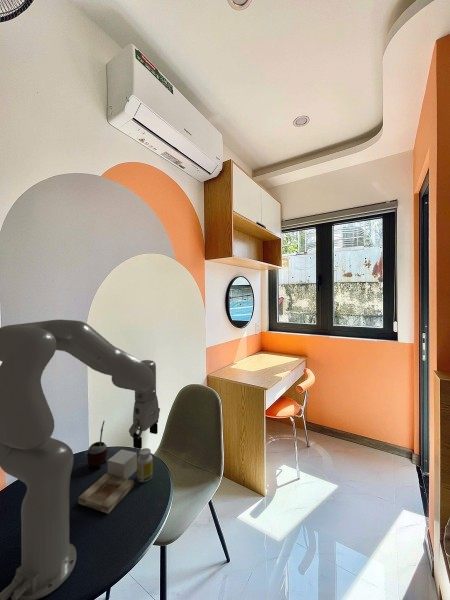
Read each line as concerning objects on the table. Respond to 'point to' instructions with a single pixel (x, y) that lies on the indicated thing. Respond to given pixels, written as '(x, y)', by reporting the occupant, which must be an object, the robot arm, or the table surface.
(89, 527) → the table surface
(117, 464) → the light gray cube
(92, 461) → the mate gourd
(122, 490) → the socket board
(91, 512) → the table surface
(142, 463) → the supplement bottle
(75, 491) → the table surface
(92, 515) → the table surface
